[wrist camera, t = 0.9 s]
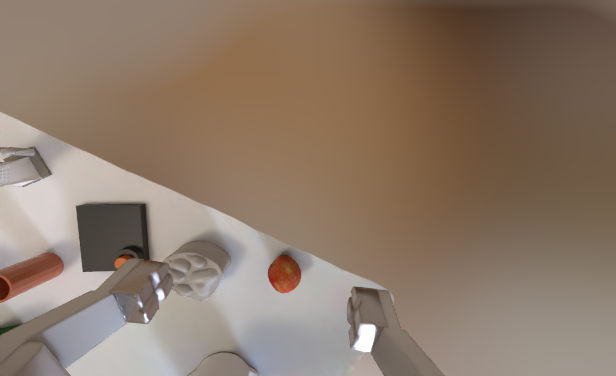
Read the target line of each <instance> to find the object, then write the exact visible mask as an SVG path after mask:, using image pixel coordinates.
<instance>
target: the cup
mask: <svg viewBox="0 0 616 376" xmlns="http://www.w3.org/2000/svg"><path fill="white" fill-rule="evenodd" d="M62 270H63V262H62V260H61V259H60V258H59V257H58V256H56V255H54V254H50V253H46V254H42V255H39V256H37V257H34V258H31V259H28V260H26V261H23V262H20V263H17V264H15V265H12V266H9V267H6V268H3V269H1V270H0V303H2V302H4V301H6V300H9V299H11V298H13V297H15V296H17V295H19V294H21V293H23V292H25V291H27V290H29V289H32V288H34V287H36V286H38V285H40V284H42V283H44V282H46V281H48V280H50V279H52V278H54V277H56V276H58V275H59V274H61V272H62Z"/></svg>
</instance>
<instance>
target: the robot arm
mask: <svg viewBox="0 0 616 376" xmlns="http://www.w3.org/2000/svg"><path fill="white" fill-rule="evenodd" d="M169 270H170V266H169V263H163V262H157V261H150V260H144V259H137V258H131V259H128V260H127V261H126V262H125V263H124V264H122V265H121V266H120V267H119V268H118V269H117V270H116V271H115V272H114V273H113V274H112V275H111V276H110V277H109V278H108V279H107V280H106V281H105V282H104V283H103V284H102V285H101V286H100V287H99V288H98V289H97V290H96V291H89V292H87V293H85V294H83V295H81V296H79V297H77V298H75V299H73V300H71V301H69V302H67V303H65V304H63V305H61V306H59V307H57V308H55V309H53V310H51V311H48V312H46V313H44V314H42V315H40V316H38V317H36V318H34V319H32V320H30V321H28V322H26V323H24V324H22V325H20V326H18V327H16V328H14V329H12V330H10V331H8V332H6V333H4V334H2V335H0V376H70V374H69V373H68V372H67V371H66V370H65V368H67V367H68V366H69V365H71V364H72V363H74V362H75V361H76V360H78V359H79V358H80V357H82V356H83V355H84V354H86V353H87V352H88V351H90V350H91V349H92V348H94V347H95V346H97V345H98V344H99V343H101V342H102V341H103V340H105V339H106V338H107V337H109V336H110V335H111V334H113V333H114V332H116V331H117V330H118V329H120V328H121V327H122V326H124V325H125V324H126V322H131V323H142V324H148V323H149V322H150V320H151V319H152V318H153V316H154V315H155V313H156V312H157V310H158V309H159V302H161V301H162V300H164V299H165V298H166V297H167V296H168V294H169V293H170V290H171V288H172V285H173V277H172V275H171V274H170V273H169V272H168V271H169ZM351 295H352V297H350V298H349V300H348V303H347V321H348V322H349V324H350V325H351V327H350V330H349V339H350V348H351V349H353V350H360V351H367V352H371V354H372V356H373V358H374V359H375V361H376V363H377V365H378V366H379V368H380V370H381V371H382V373H383V375H384V376H445V375H444V374H443V373H442V372H441V371H440V369H439V368H438V367H437V366H436V365H435V364H434V363H433V361H432V360H431V359H430V358H429V357H428V356H427V355H426V353H425V352H424V351H423V350H422V349H421V348H420V347H419V346H418V345H417V343H416V342H415V341H414V340H413V339H412V338H411V336H410V335H409V334H408V333H407V332H406V331H405V330H402V329H401V327H400V324H399V321H398V318H397V315H396V312H395V309H394V305H393V302H392V299H391V296H390V293H389V292H388V291H386V290H378V289H372V288H363V287H353V288H352V290H351ZM257 375H258V372H257V371H256V370H255V369H253V368H251V367H249V366H248V365H247V364H246V363H245V362H244V360H243V359H241V358H240V357H239V356H237V355H234V354H231V353H216V354H213V355H211V356H209V357H207V358H205V359H204V360H203V361H202V362H201V363H200V365H199V366H198V367H197V369H196V370H195V371H193V372H192V373H190V374H189V375H188V376H257Z"/></svg>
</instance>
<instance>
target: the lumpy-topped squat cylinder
mask: <svg viewBox="0 0 616 376" xmlns="http://www.w3.org/2000/svg"><path fill="white" fill-rule="evenodd" d="M163 263H169V266H170V270H169V271H168V272H169V273H170V274H171V275H172V277H173V285H172V289H173V290H174V291H176V293H177V294H178V295H180V296H186V297H189V298H192V299H195V300H200V301H202V300H206V299H209V298H210V297H211V296H212V295H213V293H214V292H215V290H216V288H217V287H218V285H219V283H220V282H221V280H222V278H223V275H224V273H225V271H226V270H227V268H228V266H229V265H230V263H231V258H230V256H229V254H228V253H227V252H226V251H225V250H223V249H221V248H220V247H218V246H216V245H214V244H211V243H209V242H206V241H194V242H189V243H187V244H185V245H183V246H182V247H180V248H179V249H178V250H176V251H175V252H174V253H173V254H171V255H170V256H169V257H167V258H166V259H165V261H164V262H163Z"/></svg>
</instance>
